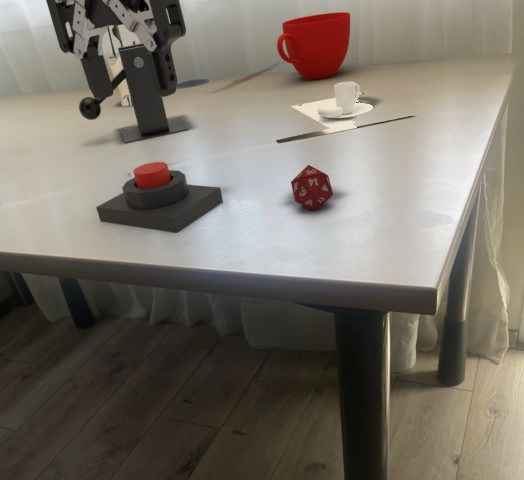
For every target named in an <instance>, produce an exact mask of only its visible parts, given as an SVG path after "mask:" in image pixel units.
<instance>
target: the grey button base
mask: <svg viewBox="0 0 524 480" xmlns="http://www.w3.org/2000/svg"><path fill="white" fill-rule="evenodd" d="M169 173H170V177H171V181H170V182H168V183H166V184H164V185H161V186H157V187H152V188H138V187H137V184H136V180H135V176H134V177H133V178H131V179H129V180H127V181H125V182H124V184H123V186H122V187H121V189H122V193H120V194H118V195H116V196H114V197H112V198H111V199H109V200H106V201H105V202H103V203H102V204H99V205H98V206H96V207H95V208H96V211H97V215H98V219H99V221H100V222H101V223H108V224H114V225H121V226H127V227H134V228H140V229H141V228H142V229H147V230H155V231H162V232H168V233H174V234H177V233H179V232H181V231H183V230H184V229H185V228H187V227H188V226H190V225H191V224H193V223H195V222H196V221H198V220H199V219H200V218H202V217H203V216H205V215H206V214H208V213H210V212H211V211H212V210H214V209H215V208H217V207H218V206H220V205H221V204H223V203H224V200H223V195H222V189H221V187H220V186H208V185H197V184H188V181H187V178H186V174H185V173H183V172H182V171H180V170H175V169H174V170H173V169H169Z"/></svg>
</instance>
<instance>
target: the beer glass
mask: <svg viewBox="0 0 524 480" xmlns="http://www.w3.org/2000/svg"><path fill="white" fill-rule="evenodd" d="M140 42H141V41H140V39H139V38H138V37H137V35H136V34H135V33H133V32H130V31H129V30H128V29H127V28H126V27H125V26H124V25H123V24H122V25H117V26H113V25H111V26H108V29H107V32H106V33H105V34H104V35H103V39H102V45H101V49H102V51H103V56H104V59H105V62H106V63H107V66H108V69H109V71H110V72H111V75H112V77H113V78H114V77H115V76H116V75H117V74H118V73H119V72H120V71H121V70H122V69H123V66H122V62H121V58H120V55H119V51H118V48H120V47H125V46H130V45H136V44H141V43H140ZM116 88H117V89H118V93H119V97H120V105H121V106H122V107H132V106H133V104H132V101H131V97H130V93H129V89H128V85H127V81H126V78H125V79H124V80H123V81H122V82H121V83H120V84H119V85H118V86H117V87H116Z"/></svg>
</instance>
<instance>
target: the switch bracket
mask: <svg viewBox="0 0 524 480" xmlns="http://www.w3.org/2000/svg"><path fill="white" fill-rule="evenodd" d="M136 46H138V47H136ZM118 51H119V55H120V58H121V62H122V66H123V68H124V70H125V74H126V81H127V85H128V89H129V93H130V97H131V101H132V104H133V105H132V108H133V112H134V116H135V120H136V123H137V126H132V127H128V128H127V127H126V128H123V129H121V130H120V131H121V134H122V138H123V142H124V144H125V145H126V144H130V143H136V142H140V141H145V140H149V139H150V140H151V139H155V138H158V137H159V138H160V137H163V136H169V135H172V134H177V133H183V132H186V131H190V128H189V127H188V126H187V124H186V123H185V122H184V120H183V119H182V117H181V116H179V117H175V118H171V119H170V118H169V119H168V117H167V114H166V109H165V104H164V100H163V97H159V96H157V94H156V91H155V87H154V83H153V79H152V75H151V71H150V67H149V63H148V59H147V55H146V54H147V53H150V51H149V50H148V49H147V48H146V47H145V45H144V44H143V43H142V42H141V43H140V44H136V45H130V46H125V47H120V48H118Z"/></svg>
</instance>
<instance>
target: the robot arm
mask: <svg viewBox="0 0 524 480" xmlns="http://www.w3.org/2000/svg"><path fill="white" fill-rule="evenodd" d="M45 1H46V4H47V5H46V6H47V8H48V12H49V16H50V18H51V22H52V26H53V28H54V33H55V36H56V39H57V42H58V46H59V48H60V50H61V52H62V53H64V54H68V53H70V54H73V55H74V56H75V57H76V58H77V59H78V60H79V61H80V63H81V67H82V69H83V72H84V73H83V74H84V76H85V79H86V82H87V85H88V88H89V90H90V92H91V93H92V97H93V98H95V99H104V98H106V99H107V98H110V97H112V96H113V95H114V90H113V88H112V84H111V77H110V74H109V71H108V67H107V64H106V63H107V62H106V59H105V56H104V54H100V53H101V51H102V39H103V35H104V34H105V33H106V32H107V29H108V26H111V25H113V26H117V25H122V24H123V25H124V26H125V27H126V28H127V29H128V30H129V31H130V32H133V33H135V34H136V35H137V37H138V38H139V41H140V42H141V43H143V44H144V45H145V47H146V48H147V49H148V50H149V51H150V53H147V54H146V55H147V59H148V63H149V67H150V71H151V75H152V79H153V83H154V87H155V91H156V94H157V96H159V97H162V98H164V97H168V96H172V95H173V94H175V93H176V91H177V87H178V77H177V73H176V72H177V71H176V68H175V62H174V58H173V54H172V46H173V43H175V42H176V41H177V40H178V39H180V38H183V37H184V36H186V34H187V26H186V23H185V19H184V15H183V10H182V6H181V3H180V0H45ZM67 23H68V25H69V29H70V33H71V36H70V35H69V32H68V29H67Z"/></svg>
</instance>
